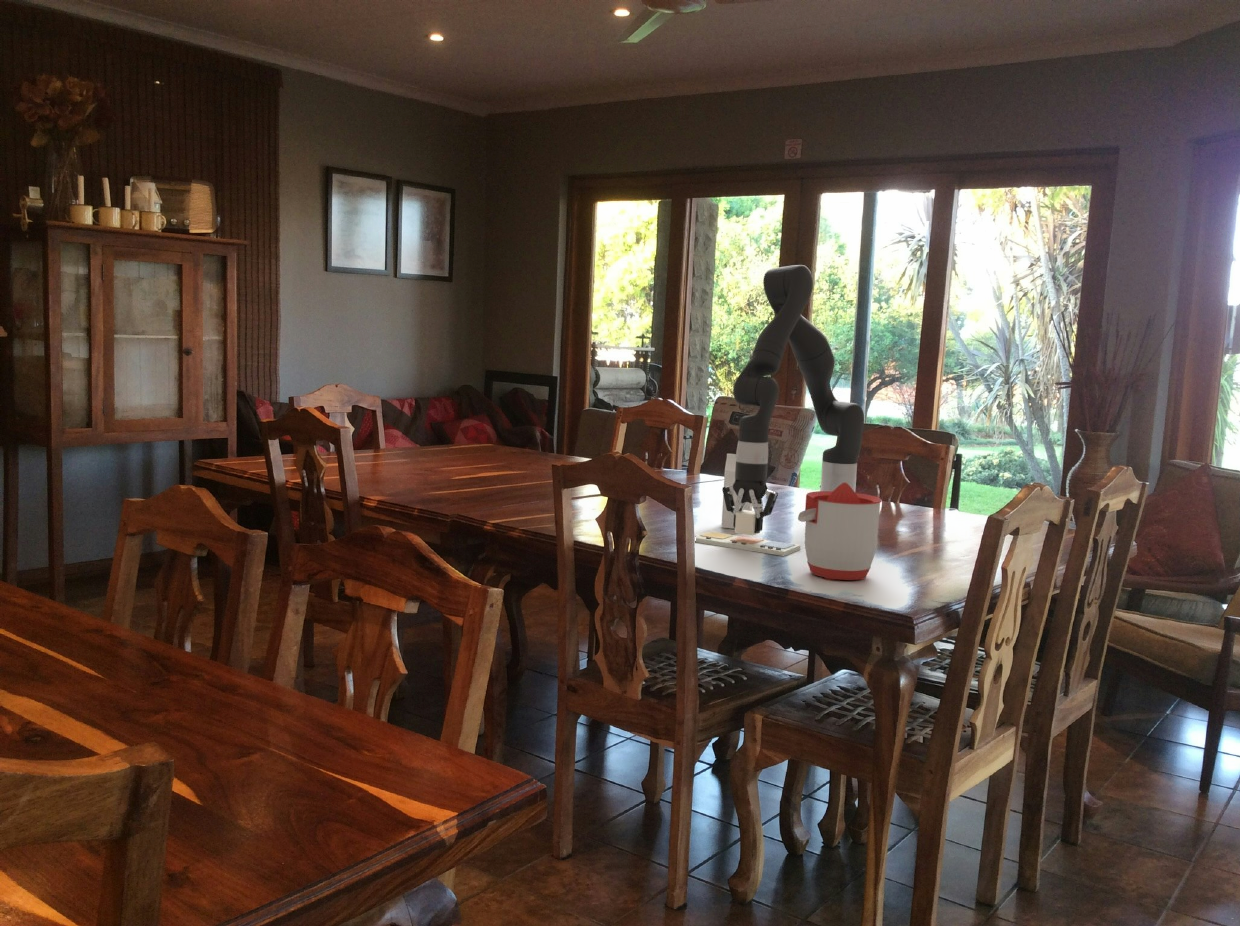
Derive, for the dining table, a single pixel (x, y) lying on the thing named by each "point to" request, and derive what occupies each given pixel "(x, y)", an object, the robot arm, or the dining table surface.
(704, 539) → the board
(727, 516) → the milk carton
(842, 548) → the citrus juicer
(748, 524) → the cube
